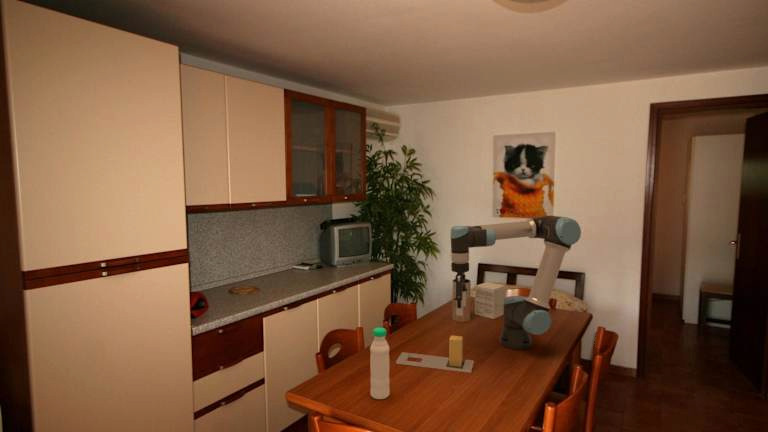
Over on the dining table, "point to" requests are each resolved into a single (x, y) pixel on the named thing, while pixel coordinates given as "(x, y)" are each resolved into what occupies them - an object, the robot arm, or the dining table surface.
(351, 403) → the dining table surface
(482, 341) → the dining table surface
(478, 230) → the robot arm
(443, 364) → the white flat board
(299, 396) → the dining table surface
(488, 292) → the supplement box
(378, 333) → the water bottle
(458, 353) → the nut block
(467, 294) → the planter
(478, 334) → the dining table surface
